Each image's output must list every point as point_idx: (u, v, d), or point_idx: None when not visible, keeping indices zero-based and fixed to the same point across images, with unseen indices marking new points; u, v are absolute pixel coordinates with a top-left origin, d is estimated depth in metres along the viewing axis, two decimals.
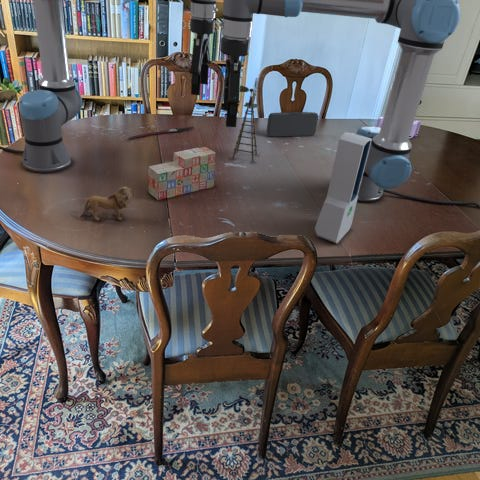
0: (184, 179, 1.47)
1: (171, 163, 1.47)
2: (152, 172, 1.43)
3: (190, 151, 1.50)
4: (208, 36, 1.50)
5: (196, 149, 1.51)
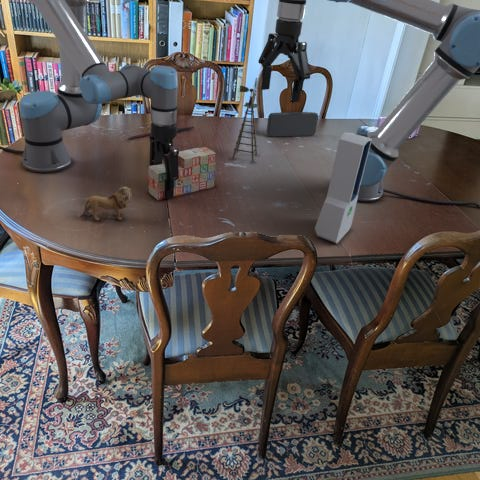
0: (184, 179, 1.47)
1: None
2: (152, 172, 1.43)
3: (191, 151, 1.50)
4: None
5: (197, 149, 1.51)
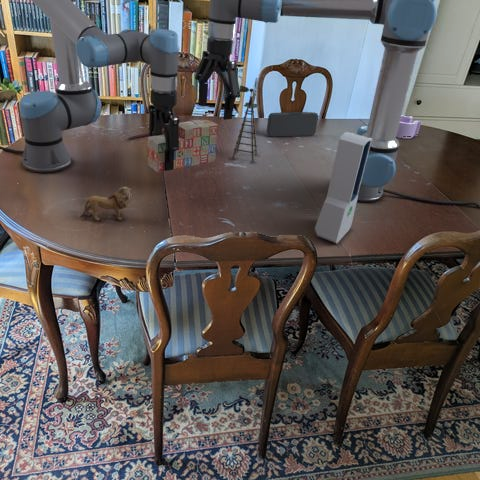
0: (185, 151, 1.42)
1: None
2: (151, 142, 1.38)
3: (191, 122, 1.45)
4: None
5: (198, 120, 1.46)
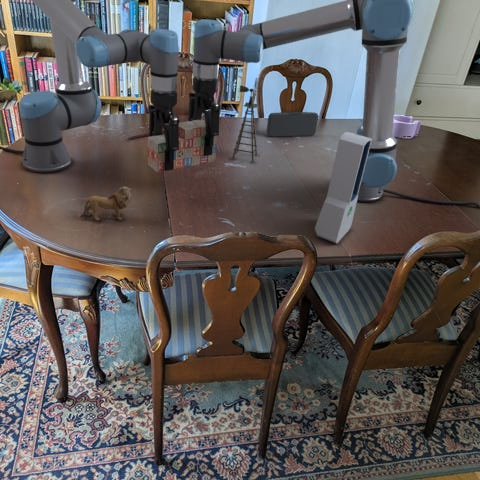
0: (185, 151, 1.42)
1: None
2: (151, 143, 1.38)
3: (191, 122, 1.45)
4: None
5: (198, 120, 1.46)
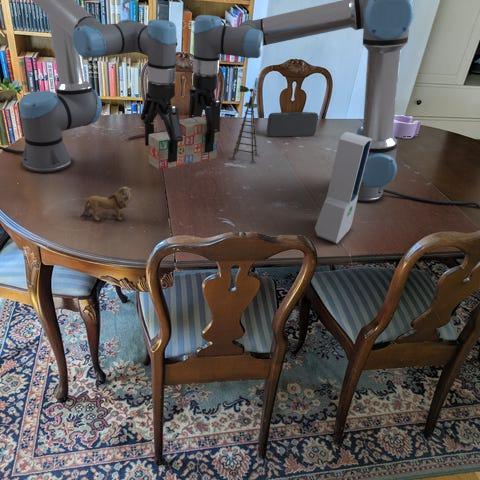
0: (186, 148, 1.42)
1: None
2: (152, 140, 1.37)
3: (192, 119, 1.44)
4: None
5: (198, 117, 1.46)
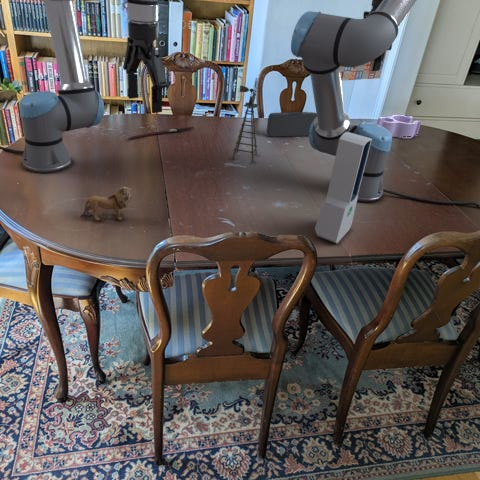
0: None
1: None
2: None
3: None
4: None
5: None
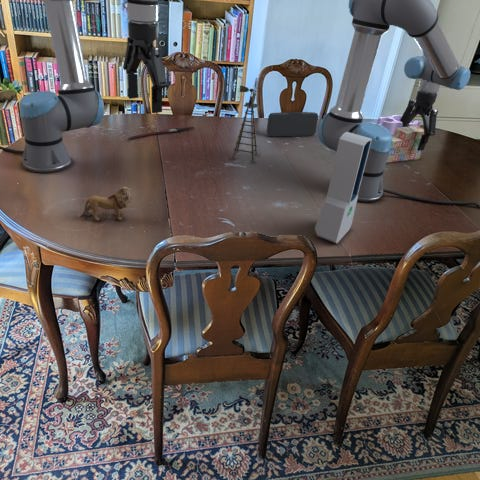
0: (401, 149, 1.89)
1: (392, 136, 1.89)
2: None
3: (407, 128, 1.90)
4: None
5: (412, 127, 1.92)
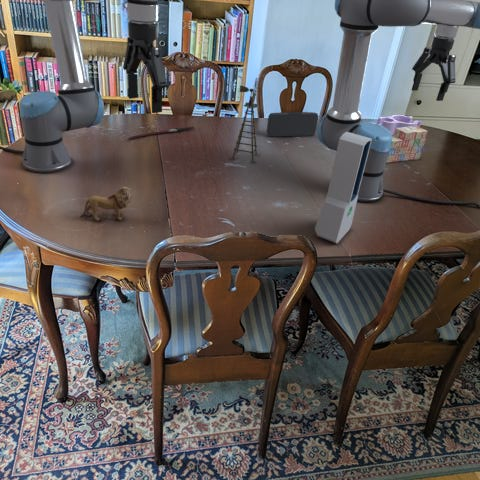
0: (401, 149, 1.89)
1: (392, 136, 1.89)
2: None
3: (408, 128, 1.90)
4: None
5: (412, 127, 1.92)
